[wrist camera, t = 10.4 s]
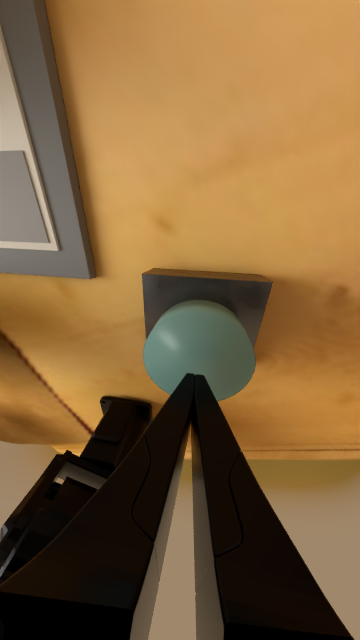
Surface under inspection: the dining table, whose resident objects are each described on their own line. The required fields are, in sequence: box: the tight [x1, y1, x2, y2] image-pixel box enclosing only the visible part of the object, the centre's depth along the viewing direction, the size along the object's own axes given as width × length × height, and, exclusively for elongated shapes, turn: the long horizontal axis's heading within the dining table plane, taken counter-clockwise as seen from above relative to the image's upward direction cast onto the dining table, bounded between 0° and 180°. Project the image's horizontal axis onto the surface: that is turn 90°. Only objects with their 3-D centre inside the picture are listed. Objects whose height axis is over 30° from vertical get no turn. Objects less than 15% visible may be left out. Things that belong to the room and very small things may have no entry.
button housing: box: [142, 268, 273, 349], centre depth 13 cm, size 8×8×2 cm
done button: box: [143, 300, 256, 401], centre depth 10 cm, size 6×6×2 cm
